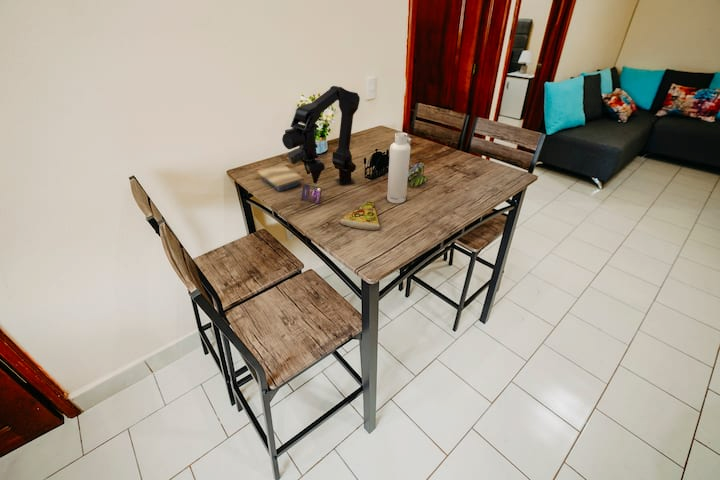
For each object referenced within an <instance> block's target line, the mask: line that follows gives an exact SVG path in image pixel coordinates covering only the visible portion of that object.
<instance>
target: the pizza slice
mask: <svg viewBox="0 0 720 480" xmlns="http://www.w3.org/2000/svg"><path fill="white" fill-rule="evenodd" d="M340 224H341V225H343V226H346V227H349V228H354V229H358V230H359V229H360V230H367V231H368V230H369V231H378V230H380V229H381V225H380V223H379V218H378V215H377V211H376V209H375V204H374V202H373V200H369V201H366V202H365V203H364V204H362V205H361V206H360V207H358V208H357V209H356V210H354V211H352V212H350V213H347V214H346V215H345V216H344V217H343V218H341V219H340Z"/></svg>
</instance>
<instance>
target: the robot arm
mask: <svg viewBox="0 0 720 480" xmlns="http://www.w3.org/2000/svg"><path fill="white" fill-rule="evenodd" d="M360 97H361V96H360V95H359V93H358V92H354V91H349V90H347V89H346V88H344V87H342V86H338V85H332V86H330V88H329V89H328V90H327V91H325V92H324V93H322V94H321V95H320V96H318V97H317V98H316V99H315V100H313V101H312V102H310V103H304V104H303V105H300V106H298V107H297V108H296V109H295V113H294V116H293V118H292V121H291V123H290V128H288V129H284V134H283V135H282V139H281V140H282V144H283V146H284V147H285V148H286V150H291V151H289V152H288V153H286V155H287V157H288V160H289V161H290V163H291V164H292V165H296V164H297V163H299V162H302V164H303V166H304V169H305V172H306V175H311V179H312V182H313V184H317V183H318V180H319V178H320V176H321V174H322V172H323V171H324V170H325V168H326V167H325V163H324V162H323V161H322V160H321V159H318V158H319V154H318V153H317V148H319V146H318V144H317V140H316V129H319V127H320V126H319V125H318V124H317V122H318V120H319V119H320V116H321V115H322V113H323V112H324V111H325V110H327V109H328V108H329V107H331V106H332V105H333V104H335V102H337V101H338V107H339V111H340V113H341V115H340V117H341V118H340V126H339V135H338V144H337V148H336V150H334V151H332V157H331V161H332V165H333V166H334V169H335V170H338V178H336V181H337V182H338V184H339V185H341V186H346V185H351V184H354V183H355V181H354V180H353V179H352V173H355V171H356V168H357V165H356V164H355V163H354V161H353V159H352V158H353V155H352V152H351V150H350V145H351V139H352V138H351V137H352V130H353V121H354V115H355V114H356V113H357V111H358V109H359V105H360V101H361V100H360V99H361V98H360ZM292 149H293V150H292Z"/></svg>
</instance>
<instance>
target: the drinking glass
mask: <svg viewBox="0 0 720 480" xmlns="http://www.w3.org/2000/svg"><path fill="white" fill-rule="evenodd" d="M407 143H408V144H409V145H410V146H411V143H412V138H411V137H409V136H407Z"/></svg>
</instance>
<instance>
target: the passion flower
mask: <svg viewBox="0 0 720 480" xmlns="http://www.w3.org/2000/svg"><path fill="white" fill-rule="evenodd" d="M413 163H414V162H409V170H408V180H407V181H410V183H409V185H410V187H411V188H413V186H414V187H417V186H421V184H422V183H423V184H425V182H429V179H428V176H427V175H424V173H425V163H423V162H417V163H415V164H414V165H413V166H411V165H412V164H413Z"/></svg>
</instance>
